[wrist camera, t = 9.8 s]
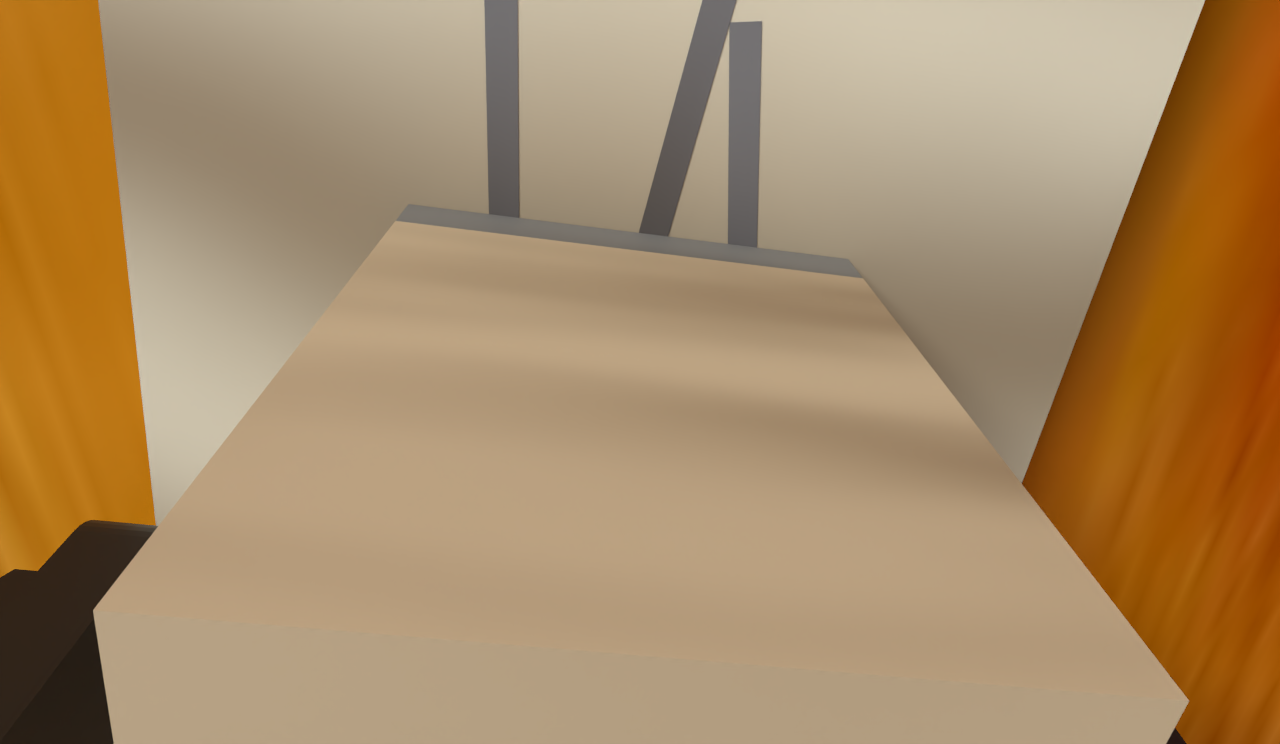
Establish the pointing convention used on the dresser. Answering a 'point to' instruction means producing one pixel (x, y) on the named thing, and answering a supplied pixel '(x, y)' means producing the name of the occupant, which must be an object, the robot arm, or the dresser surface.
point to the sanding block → (613, 523)
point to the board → (628, 163)
